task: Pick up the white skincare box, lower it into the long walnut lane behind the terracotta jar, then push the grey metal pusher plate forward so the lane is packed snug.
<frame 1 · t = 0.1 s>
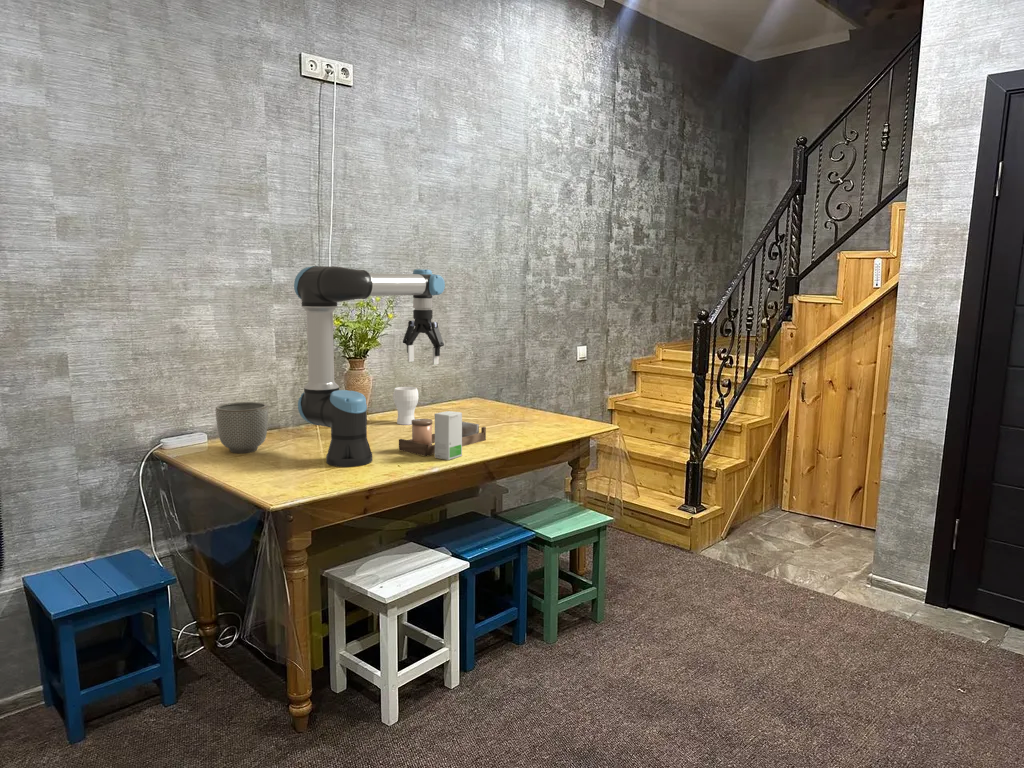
hand: (423, 363, 281), 28 cm above the table, fingers open, 13 cm apart
lane: (443, 444, 263), on the table
skincare box: (448, 457, 246), on the table
planter: (243, 451, 251), on the table
jar: (422, 450, 254), resting in lane
cup: (406, 423, 302), on the table
pusher: (470, 429, 275), point 3 cm above the table, slide at 0.0 cm
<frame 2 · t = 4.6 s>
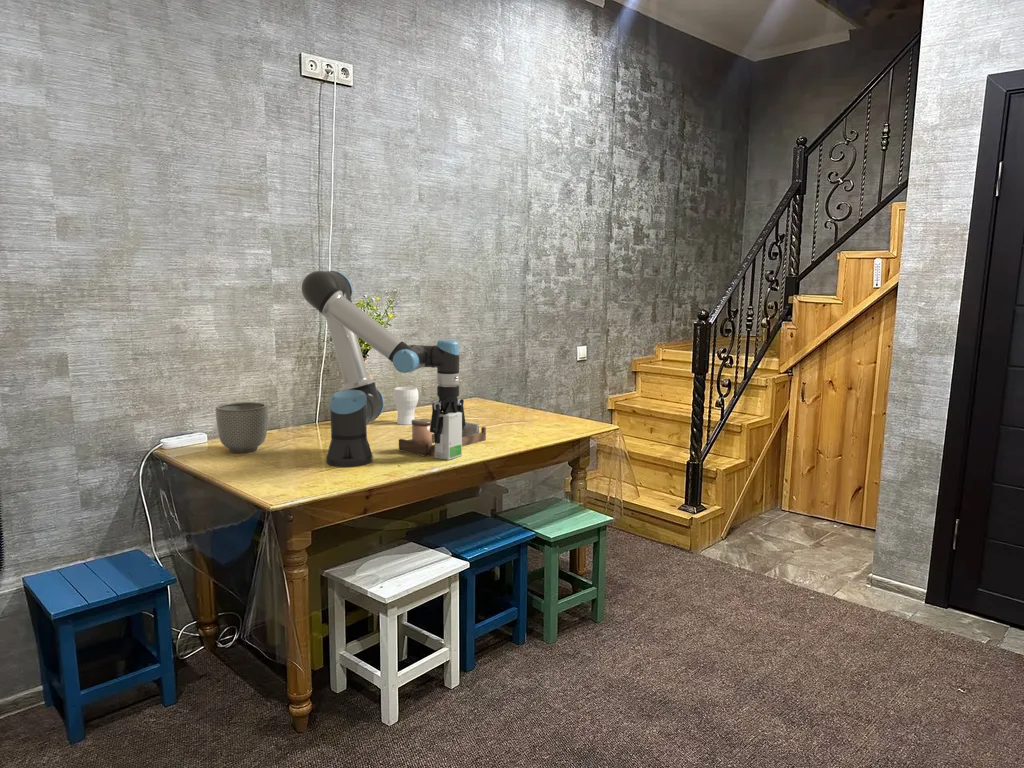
hand: (448, 449, 246), 3 cm above the table, fingers closed on skincare box, 8 cm apart
skincare box: (448, 457, 246), on the table, touching gripper
everything else where it was.
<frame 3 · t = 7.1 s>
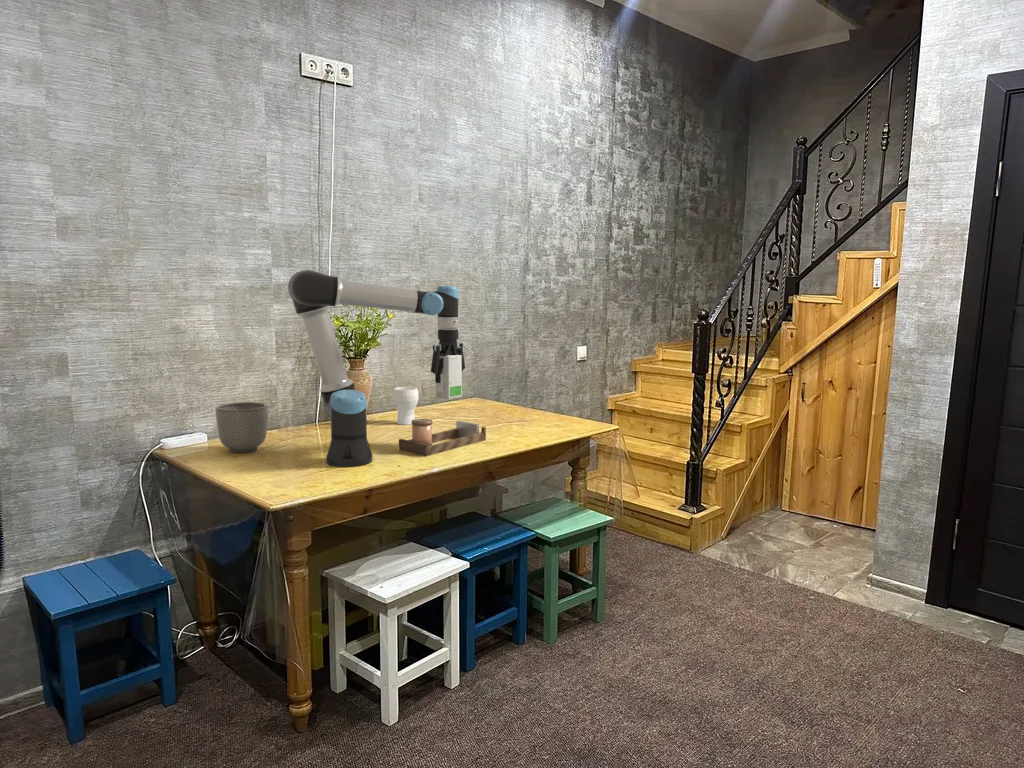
hand: (448, 390, 261), 21 cm above the table, fingers closed on skincare box, 8 cm apart
skincare box: (448, 397, 261), point 18 cm above the table, touching gripper
everything else where it was.
when the fingers open (4 cm above the table, at t = 10.1 s): skincare box drops 2 cm, resting in lane.
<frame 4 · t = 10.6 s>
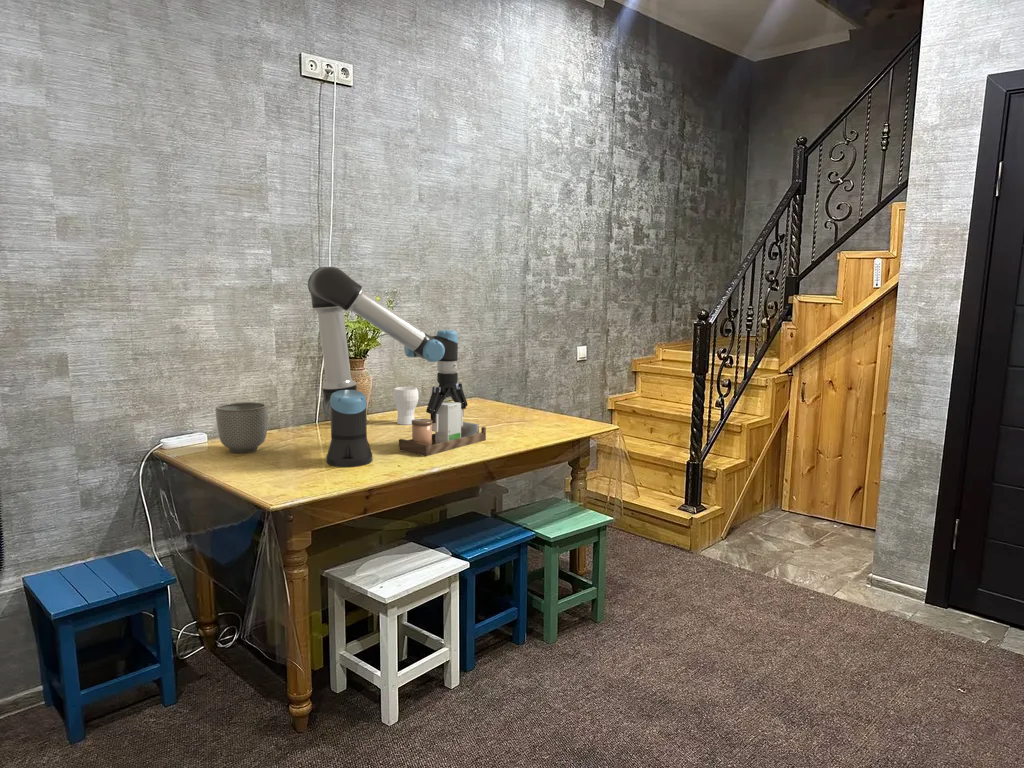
hand: (447, 428, 264), 6 cm above the table, fingers open, 13 cm apart
skincare box: (448, 444, 265), resting in lane
everything else where it was.
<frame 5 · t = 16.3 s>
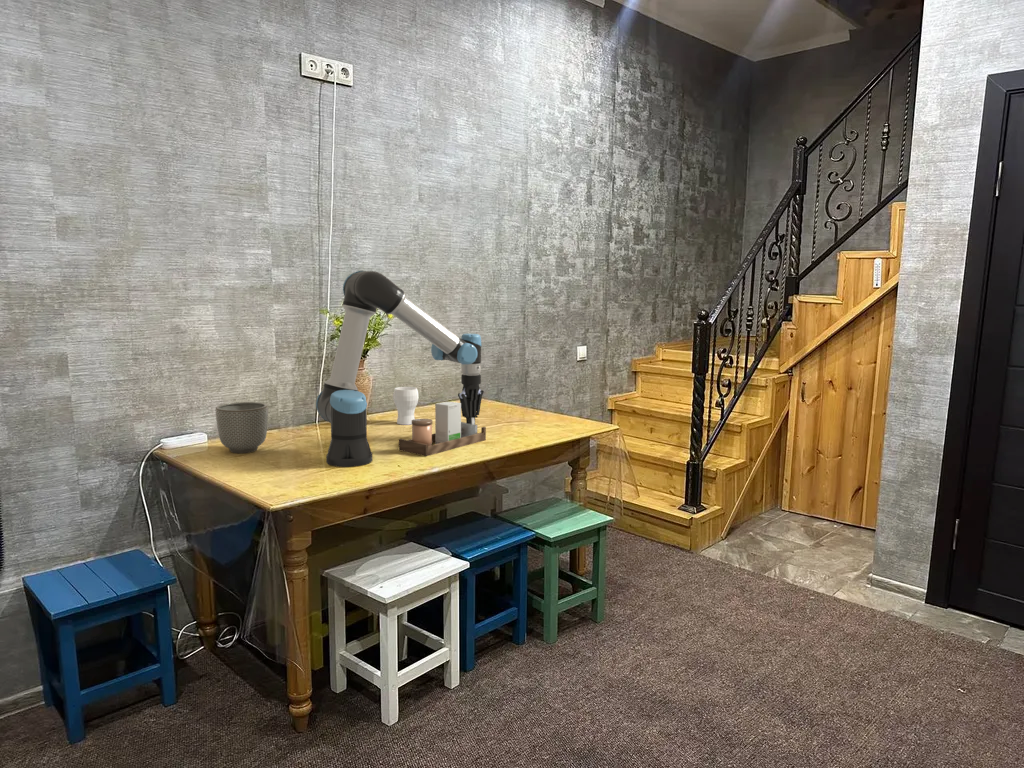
hand: (470, 434, 275), 2 cm above the table, fingers closed
pusher: (468, 430, 274), point 3 cm above the table, slide at 0.9 cm, touching gripper
everything else where it was.
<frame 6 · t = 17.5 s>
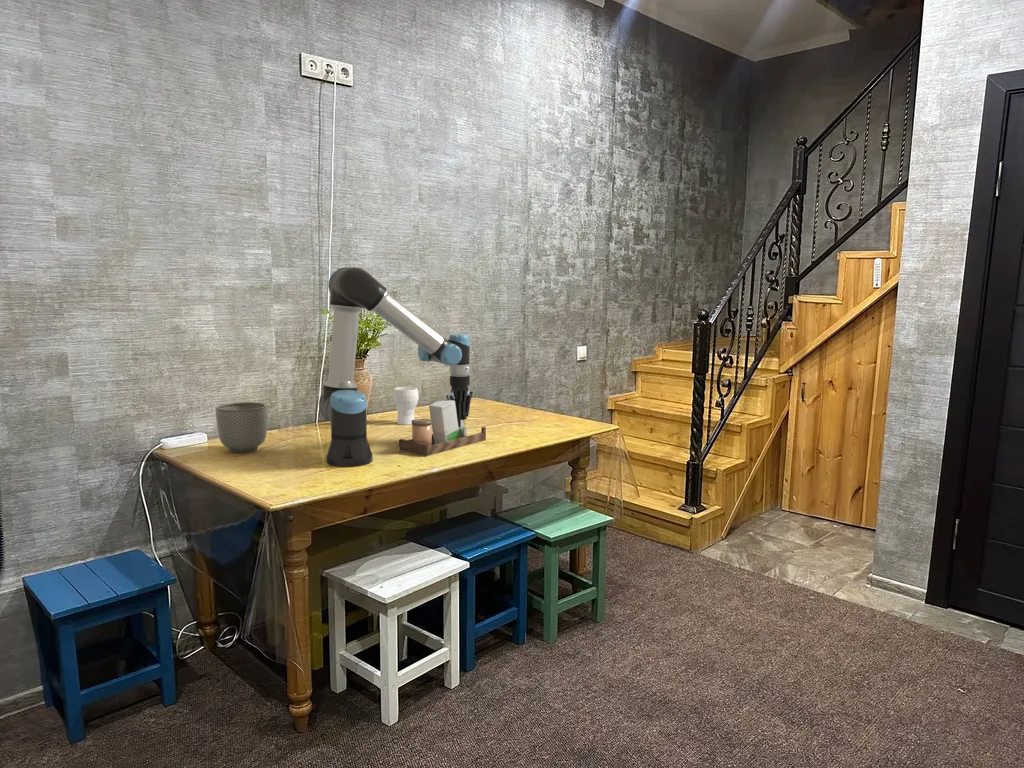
hand: (459, 436, 270), 2 cm above the table, fingers closed
skincare box: (447, 442, 265), point 1 cm above the table, touching hand
pusher: (457, 432, 269), point 3 cm above the table, slide at 7.3 cm, touching gripper
everything else where it was.
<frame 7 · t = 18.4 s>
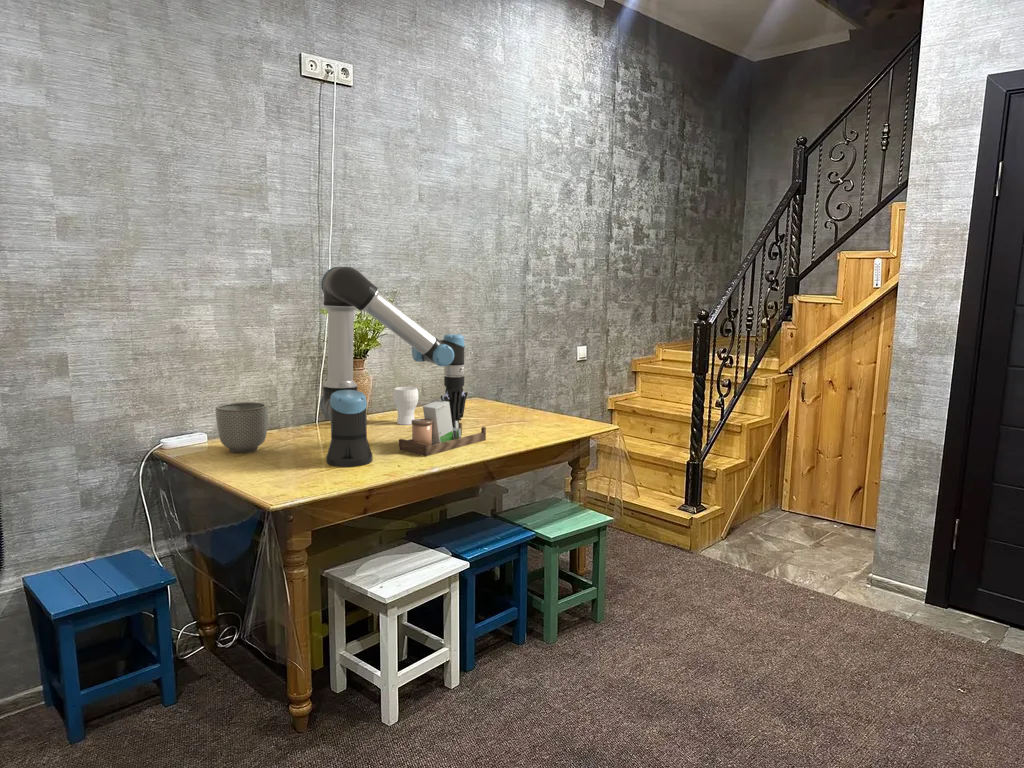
hand: (454, 437, 268), 2 cm above the table, fingers closed
skincare box: (441, 443, 262), point 1 cm above the table, touching hand, pusher
pusher: (452, 434, 267), point 3 cm above the table, slide at 10.3 cm, touching gripper, skincare box
everything else where it was.
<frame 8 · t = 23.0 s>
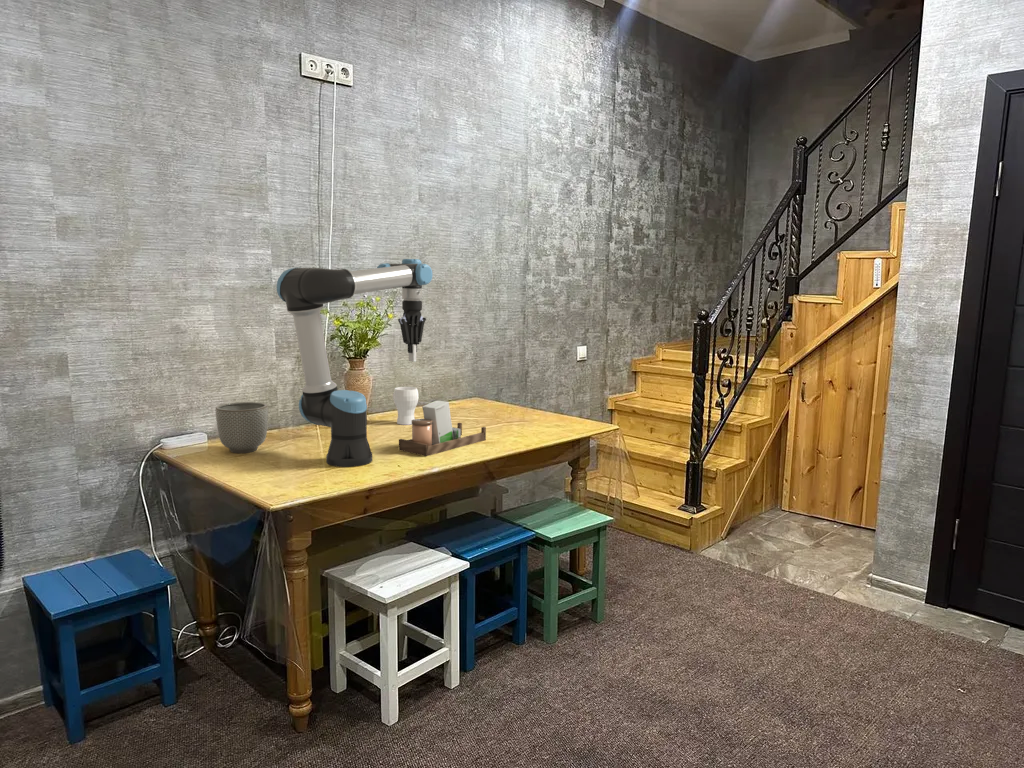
hand: (412, 361, 274), 29 cm above the table, fingers closed
skincare box: (440, 444, 262), point 1 cm above the table, touching pusher
pusher: (452, 434, 267), point 3 cm above the table, slide at 10.6 cm, touching skincare box
everything else where it was.
at the end: skincare box inside the target area on the lane (0.6 cm from its centre), point 0.6 cm above the lane's base; skincare box tilted 11°; pusher slide at 10.6 cm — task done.
